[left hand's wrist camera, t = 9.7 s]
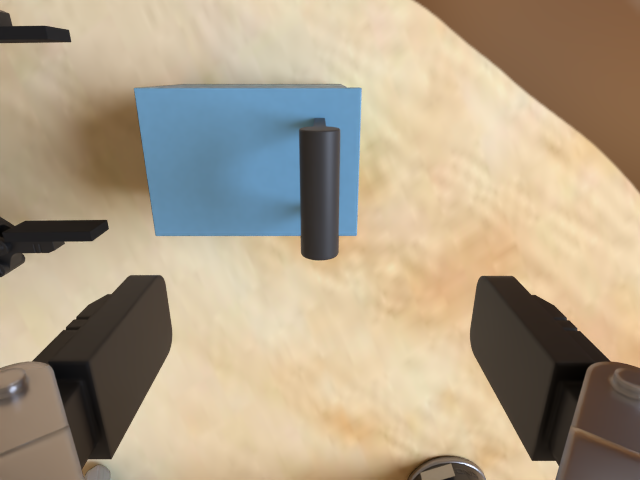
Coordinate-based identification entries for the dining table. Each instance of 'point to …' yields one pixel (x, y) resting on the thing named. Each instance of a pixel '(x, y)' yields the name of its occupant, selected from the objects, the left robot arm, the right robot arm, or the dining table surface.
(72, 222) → the right robot arm
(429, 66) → the dining table surface
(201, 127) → the lid
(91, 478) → the digital clock
